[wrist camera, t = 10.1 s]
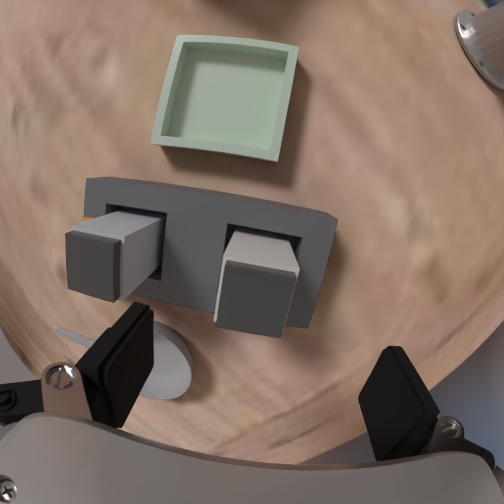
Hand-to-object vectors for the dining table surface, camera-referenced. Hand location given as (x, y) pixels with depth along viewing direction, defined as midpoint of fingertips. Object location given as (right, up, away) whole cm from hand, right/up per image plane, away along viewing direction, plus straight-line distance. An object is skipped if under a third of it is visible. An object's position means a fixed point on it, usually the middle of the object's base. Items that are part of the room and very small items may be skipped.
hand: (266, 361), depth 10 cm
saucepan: (-16, -6, +20) cm, 26 cm away
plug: (0, +4, +15) cm, 16 cm away
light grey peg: (-11, +6, +15) cm, 19 cm away
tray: (-3, +18, +12) cm, 22 cm away
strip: (-5, +5, +16) cm, 18 cm away
